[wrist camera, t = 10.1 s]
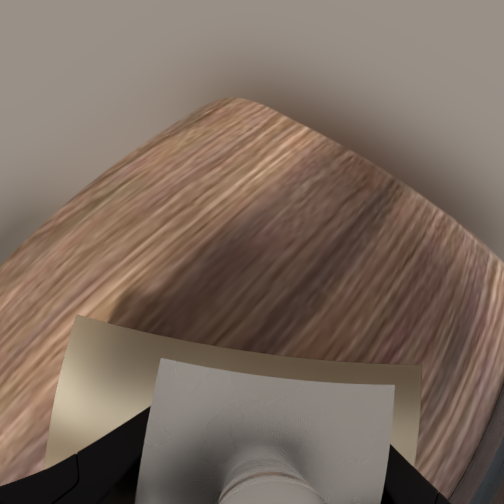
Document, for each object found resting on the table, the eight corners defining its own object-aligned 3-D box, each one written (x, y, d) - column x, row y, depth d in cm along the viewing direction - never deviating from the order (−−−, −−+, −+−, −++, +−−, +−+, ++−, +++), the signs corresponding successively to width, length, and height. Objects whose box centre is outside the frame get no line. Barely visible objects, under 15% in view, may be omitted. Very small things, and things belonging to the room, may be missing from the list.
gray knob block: (308, 512, 8) (399, 622, 1) (183, 497, 8) (85, 597, 1) (325, 402, 10) (454, 364, 3) (202, 386, 10) (120, 326, 4)
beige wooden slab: (353, 592, 7) (370, 614, 5) (69, 543, 8) (42, 557, 6) (394, 375, 14) (422, 364, 12) (101, 332, 15) (76, 314, 13)
